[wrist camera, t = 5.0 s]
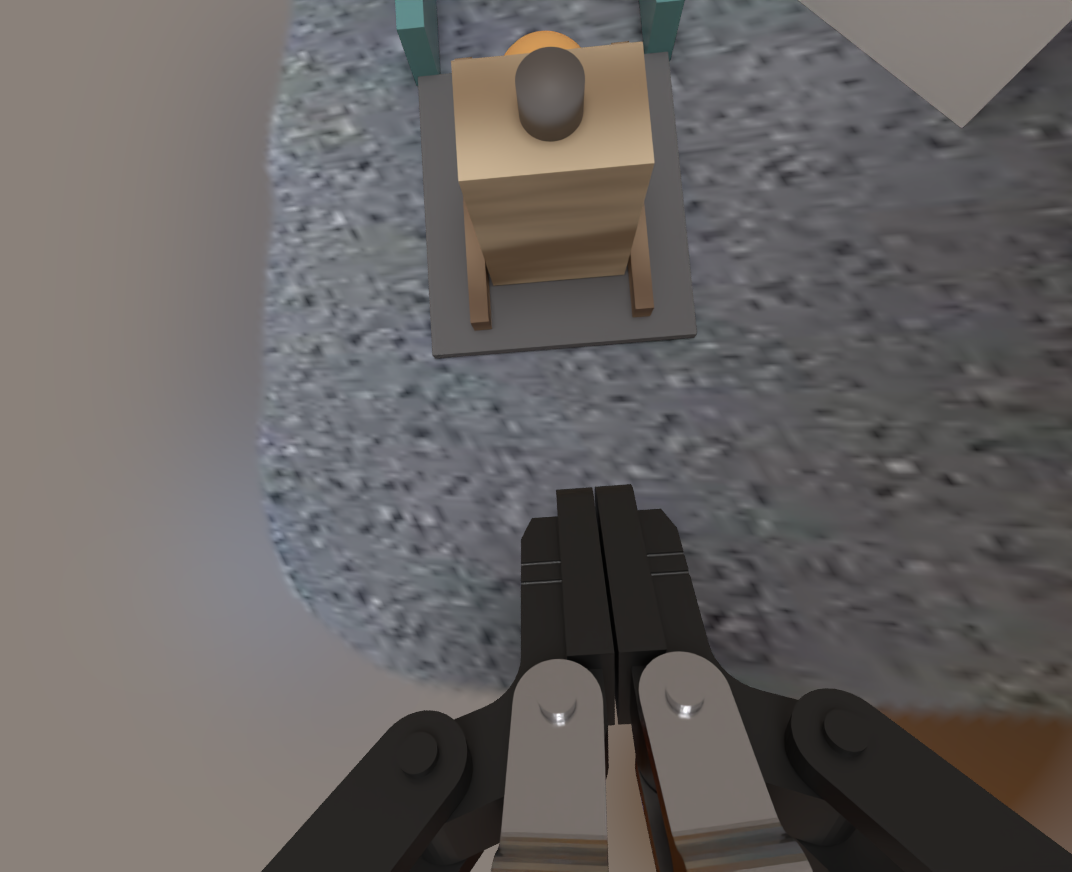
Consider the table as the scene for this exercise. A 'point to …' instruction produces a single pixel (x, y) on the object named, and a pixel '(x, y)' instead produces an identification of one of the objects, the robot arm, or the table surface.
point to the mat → (560, 305)
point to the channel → (480, 278)
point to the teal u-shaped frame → (422, 46)
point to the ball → (541, 42)
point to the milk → (948, 43)
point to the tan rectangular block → (554, 159)
